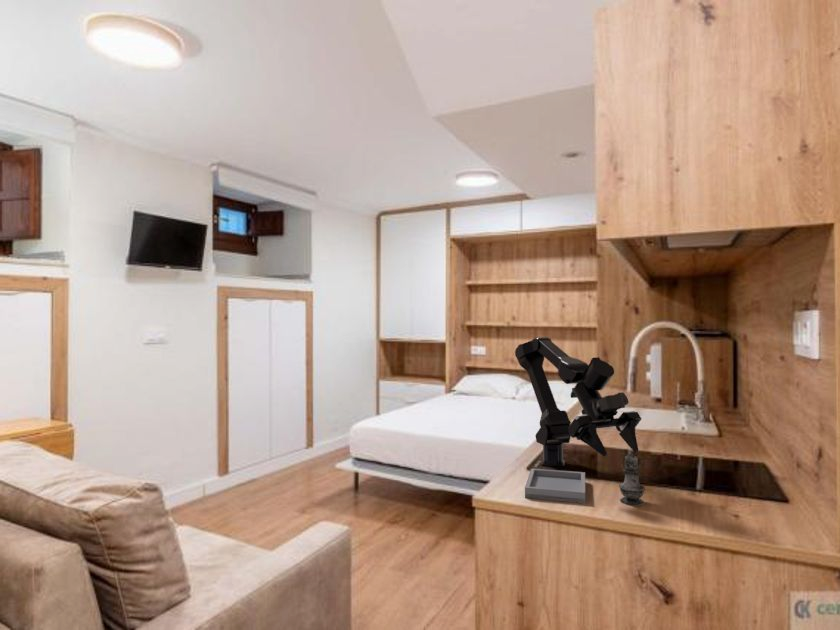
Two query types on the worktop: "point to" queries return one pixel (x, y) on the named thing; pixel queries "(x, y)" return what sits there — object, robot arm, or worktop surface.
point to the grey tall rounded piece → (631, 483)
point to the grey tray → (556, 485)
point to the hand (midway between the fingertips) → (621, 453)
